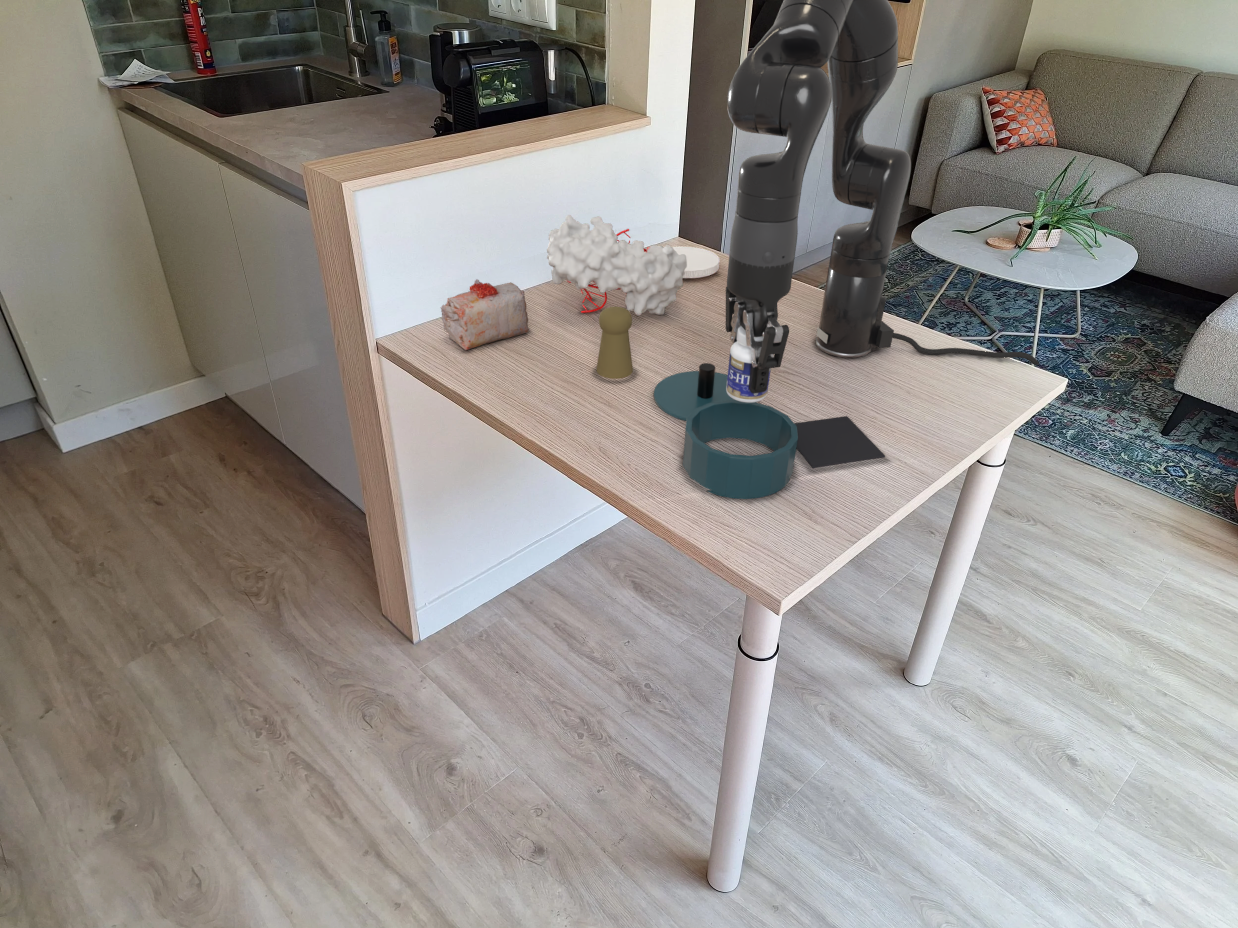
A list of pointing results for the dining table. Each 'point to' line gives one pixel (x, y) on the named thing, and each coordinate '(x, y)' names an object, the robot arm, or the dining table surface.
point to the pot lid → (691, 391)
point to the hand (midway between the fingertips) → (748, 379)
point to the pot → (740, 471)
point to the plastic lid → (698, 261)
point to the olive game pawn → (615, 343)
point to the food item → (485, 314)
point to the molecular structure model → (615, 265)
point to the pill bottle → (742, 370)
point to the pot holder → (834, 442)
